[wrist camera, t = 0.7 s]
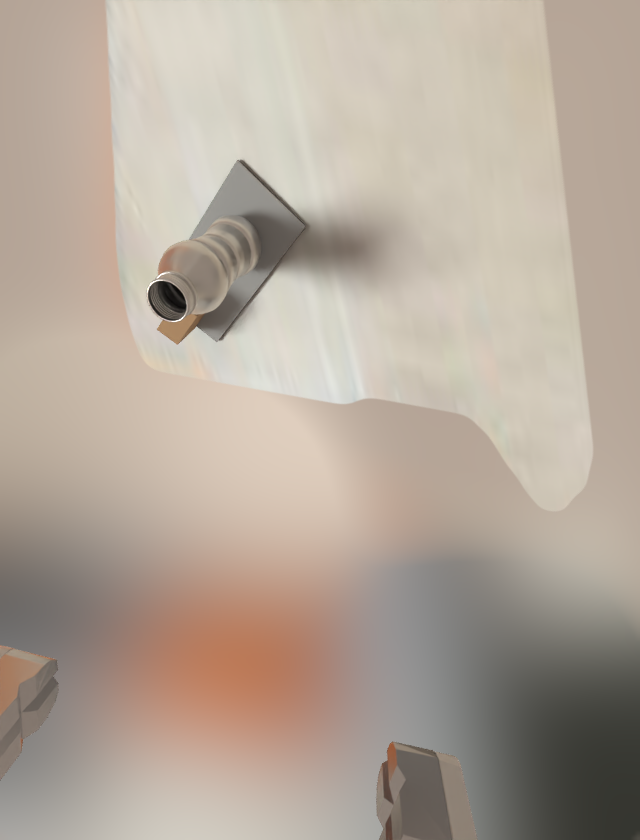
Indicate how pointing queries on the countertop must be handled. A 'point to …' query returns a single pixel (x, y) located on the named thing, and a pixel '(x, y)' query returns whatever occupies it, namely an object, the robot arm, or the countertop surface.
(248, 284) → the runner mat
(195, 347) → the countertop surface
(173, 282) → the plastic bottle
